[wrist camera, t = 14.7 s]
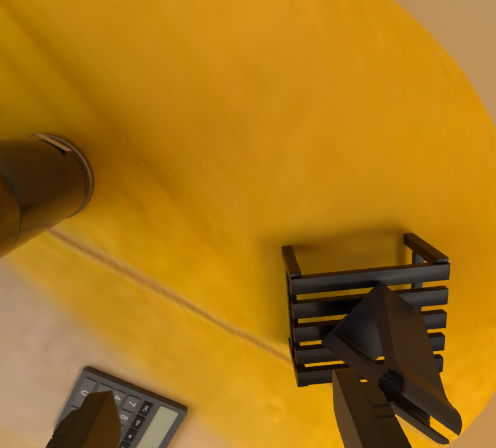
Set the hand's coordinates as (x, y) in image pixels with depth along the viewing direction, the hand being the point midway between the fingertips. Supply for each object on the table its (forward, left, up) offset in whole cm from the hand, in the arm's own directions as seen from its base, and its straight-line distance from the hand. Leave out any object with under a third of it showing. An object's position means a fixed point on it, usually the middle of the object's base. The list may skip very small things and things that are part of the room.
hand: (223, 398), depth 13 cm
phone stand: (+13, -13, -22) cm, 29 cm away
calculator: (-19, -29, -30) cm, 46 cm away
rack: (+13, -13, -30) cm, 35 cm away
